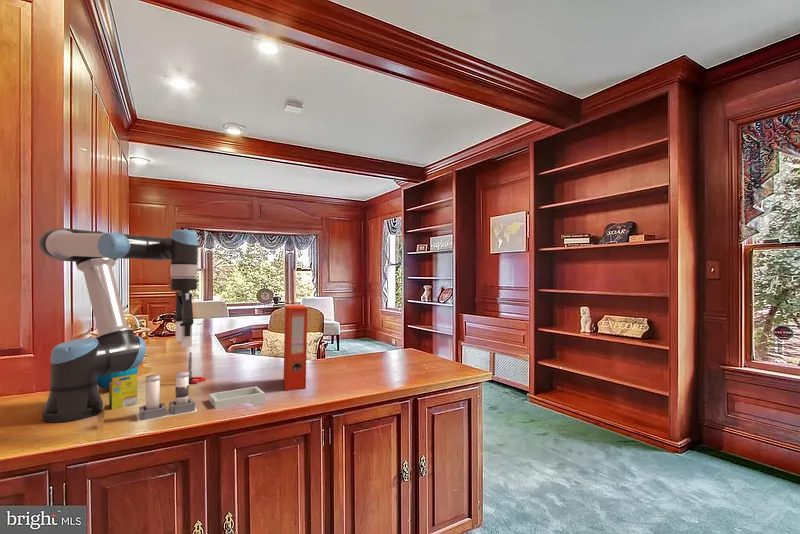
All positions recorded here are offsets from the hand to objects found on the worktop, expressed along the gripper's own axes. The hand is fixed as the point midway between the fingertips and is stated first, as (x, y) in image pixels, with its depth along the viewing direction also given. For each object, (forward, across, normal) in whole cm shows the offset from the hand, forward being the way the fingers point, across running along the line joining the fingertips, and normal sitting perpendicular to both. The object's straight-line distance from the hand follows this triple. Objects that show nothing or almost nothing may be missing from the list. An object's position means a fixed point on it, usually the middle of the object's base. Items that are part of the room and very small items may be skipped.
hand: (183, 343), depth 127 cm
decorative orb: (+23, +48, +17) cm, 56 cm away
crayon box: (+23, +16, +15) cm, 32 cm away
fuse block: (+23, 0, +4) cm, 23 cm away
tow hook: (+23, +43, -10) cm, 50 cm away
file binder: (+23, +14, -43) cm, 51 cm away
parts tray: (+23, 0, -17) cm, 28 cm away
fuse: (+21, 0, +8) cm, 23 cm away
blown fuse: (+21, 0, 0) cm, 21 cm away
